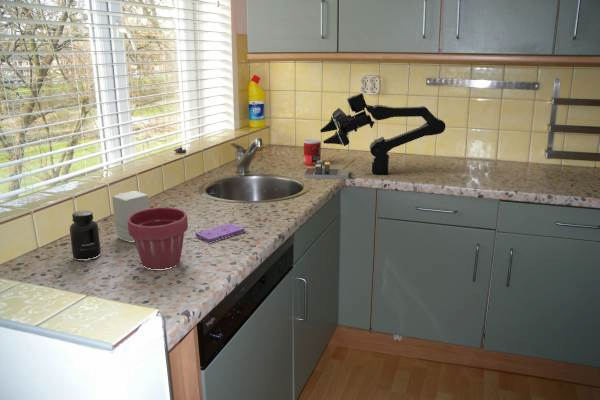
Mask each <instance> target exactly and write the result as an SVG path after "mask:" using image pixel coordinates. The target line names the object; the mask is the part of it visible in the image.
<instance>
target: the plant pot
mask: <svg viewBox="0 0 600 400" xmlns="http://www.w3.org/2000/svg"><path fill="white" fill-rule="evenodd" d="M188 228H189V226H188V215H187V212H186V211H184V210H182V209H179V208H175V207H165V206H164V207H152V208H149V209H145V210H142V211H138V212H136V213H134V214H132V215H131V216H129V218H128V230H129V235H130V236H131V237H133V238H134V241H135V242H134V244H135V247H136V249H137V253H138V256H139V258H140V261H141V263H142V264H141V265H142V267H143V266H145V267H147V268H151V269H165V268H170V267H173V266H175V265H177V264H178V263H179V262H181V256H182V251H183V245H184V238H185V233H186V232H187V230H188ZM179 264H180V263H179ZM179 264H178V265H179ZM178 265H177V266H178Z"/></svg>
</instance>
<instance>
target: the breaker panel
mask: <svg viewBox="0 0 600 400" xmlns="http://www.w3.org/2000/svg"><path fill="white" fill-rule="evenodd" d="M314 167H315V168H313V167H311V168H310V167H307V168H306V170H305V172H304V178H305V179H333V180H335V179H336V180H337V179H338V180H348V179H349V174H350V169H349V168H330V171H329V172H325V168H323V159H321V160H317V164H316V165H315V166H314Z"/></svg>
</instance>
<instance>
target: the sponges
mask: <svg viewBox="0 0 600 400" xmlns="http://www.w3.org/2000/svg"><path fill="white" fill-rule="evenodd" d="M241 232H243V233H244V232H245V228H244V227H241V226H237V225H235V224H233V223H225V224H221V225H219V226H215V227H211V228H208V229H204V230H200V231H196V232H195V237H196V236H197V237H199V238H201V239H203V240H202V241H204V240H205V241H204V242H206V241H207V242H206V243H208V242H212V243H214V242H213V241H215V242H217V241H216V240H218V241H220V240H219V239H221V240H223V239H222V238H225V237H228V236H231V237H233V236H232V235H234V234H237V235H239V234H238V233H241ZM241 234H242V233H241ZM234 236H235V235H234ZM197 237H196V238H197ZM199 238H198V239H199ZM228 238H229V237H228ZM201 239H200V240H201ZM225 239H226V238H225Z"/></svg>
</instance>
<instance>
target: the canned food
mask: <svg viewBox="0 0 600 400" xmlns="http://www.w3.org/2000/svg"><path fill="white" fill-rule="evenodd" d="M321 146H322V145H321V140H319V139H313V138H312V139H311V138H310V139H304V140H303V164H304V165H305V166H309V167H315V165H316V164H317V160H322V159H321V151H322V149H321V148H322V147H321Z"/></svg>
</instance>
